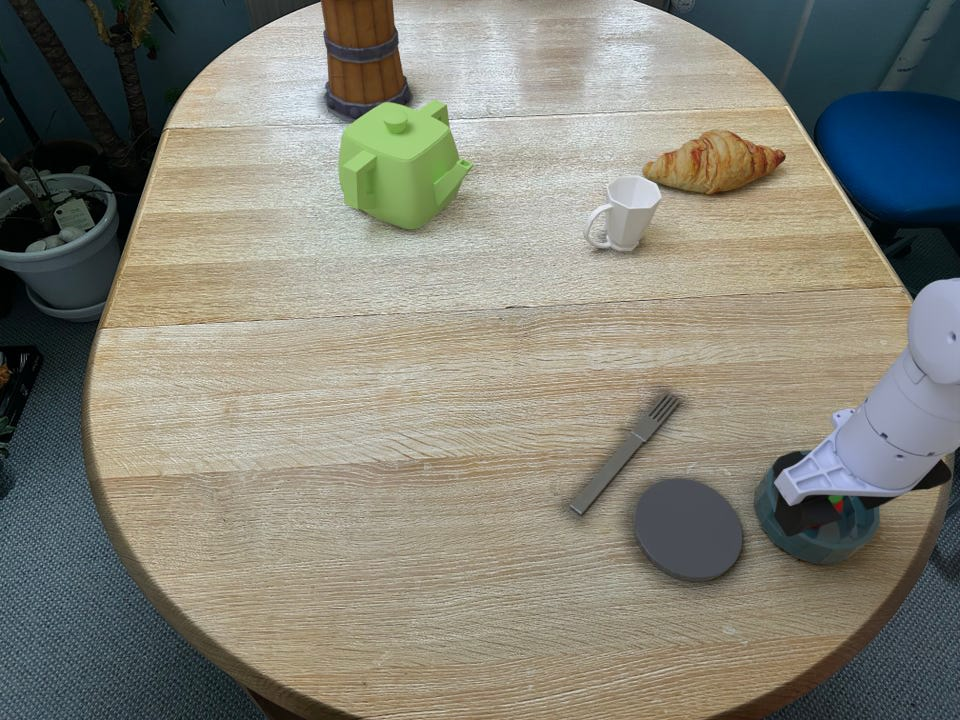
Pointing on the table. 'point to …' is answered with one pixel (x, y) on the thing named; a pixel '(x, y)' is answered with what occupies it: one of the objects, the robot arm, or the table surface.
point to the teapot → (401, 163)
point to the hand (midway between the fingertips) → (823, 511)
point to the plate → (687, 530)
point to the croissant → (714, 163)
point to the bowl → (826, 540)
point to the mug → (362, 57)
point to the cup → (626, 211)
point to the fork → (624, 453)
